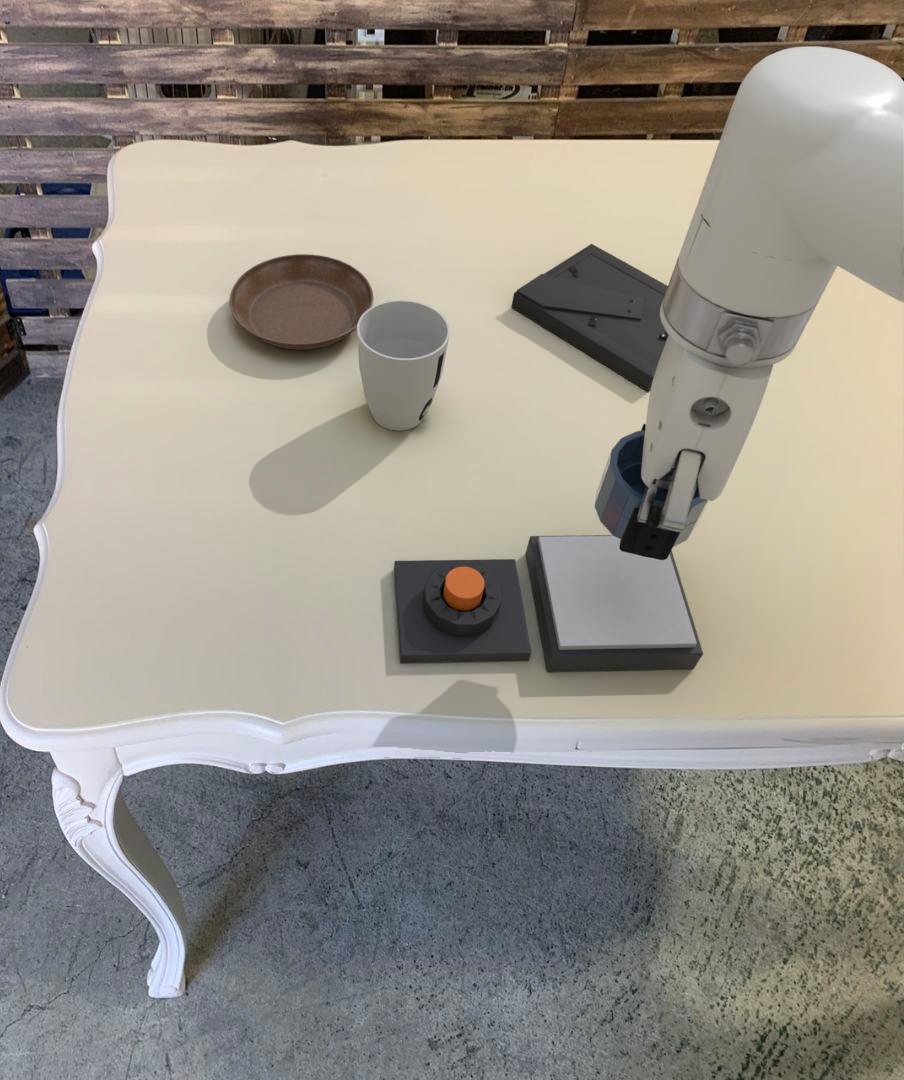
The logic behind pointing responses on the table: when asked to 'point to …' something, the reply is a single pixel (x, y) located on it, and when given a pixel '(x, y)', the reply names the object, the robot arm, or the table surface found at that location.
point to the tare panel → (459, 614)
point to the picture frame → (601, 311)
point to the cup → (401, 360)
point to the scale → (609, 607)
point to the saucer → (301, 300)
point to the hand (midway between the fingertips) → (646, 508)
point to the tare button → (463, 588)
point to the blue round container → (634, 489)
